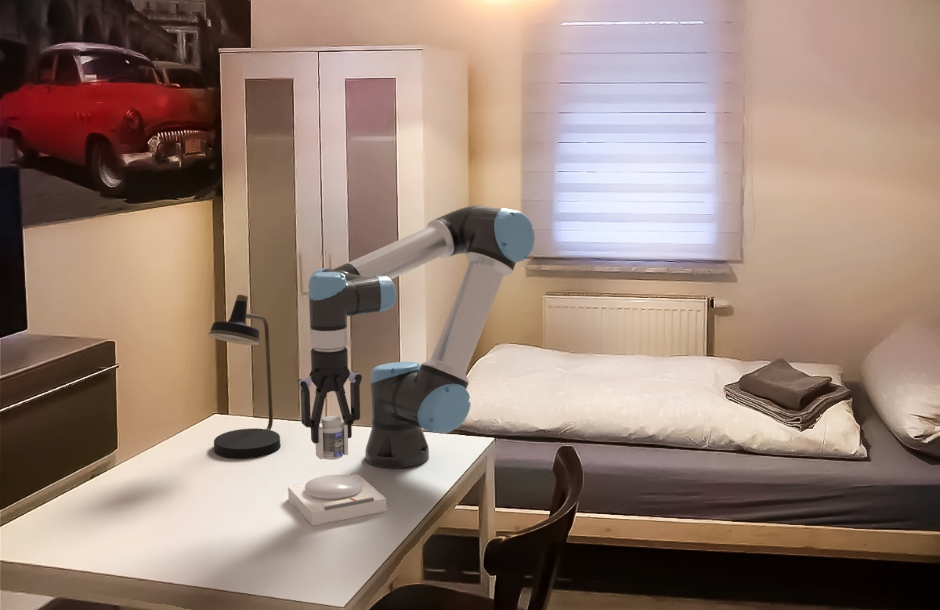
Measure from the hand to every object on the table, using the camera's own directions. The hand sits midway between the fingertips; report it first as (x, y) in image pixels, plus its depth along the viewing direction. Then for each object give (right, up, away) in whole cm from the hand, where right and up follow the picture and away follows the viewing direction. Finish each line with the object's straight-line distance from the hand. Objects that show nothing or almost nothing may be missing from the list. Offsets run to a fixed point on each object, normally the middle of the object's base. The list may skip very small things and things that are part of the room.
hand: (332, 454), depth 219 cm
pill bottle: (0, -1, 0) cm, 1 cm away
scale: (+1, -11, +1) cm, 11 cm away
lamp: (-25, -4, +39) cm, 46 cm away
